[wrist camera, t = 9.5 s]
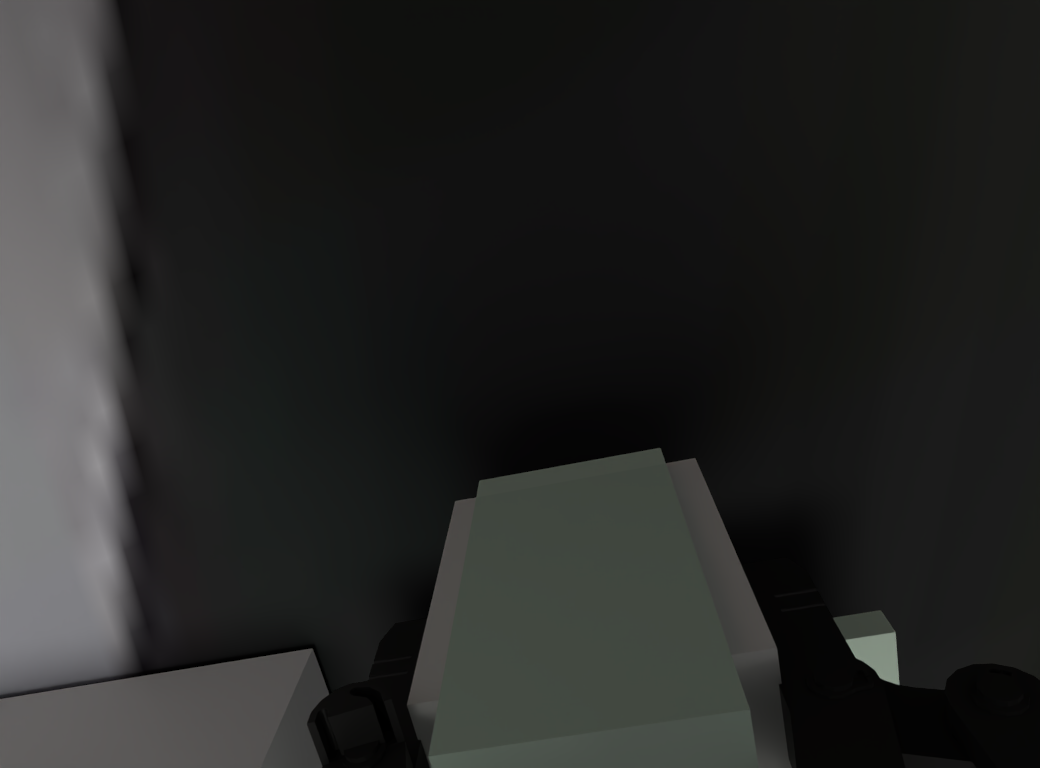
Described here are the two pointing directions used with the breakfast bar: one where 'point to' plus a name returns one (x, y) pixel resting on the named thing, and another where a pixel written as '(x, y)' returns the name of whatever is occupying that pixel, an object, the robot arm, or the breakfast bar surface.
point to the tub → (173, 719)
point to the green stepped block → (597, 631)
